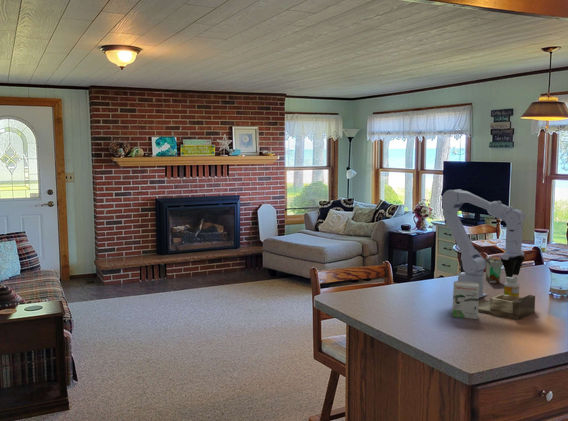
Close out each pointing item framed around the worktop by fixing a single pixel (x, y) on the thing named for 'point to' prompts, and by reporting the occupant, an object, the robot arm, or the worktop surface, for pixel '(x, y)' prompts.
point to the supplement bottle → (511, 286)
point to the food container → (493, 270)
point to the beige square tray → (503, 303)
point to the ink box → (465, 300)
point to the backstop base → (519, 308)
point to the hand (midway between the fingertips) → (512, 275)
